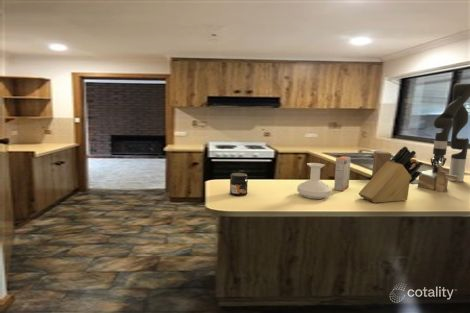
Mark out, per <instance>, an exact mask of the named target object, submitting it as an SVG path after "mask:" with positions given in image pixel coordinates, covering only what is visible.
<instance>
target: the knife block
mask: <svg viewBox="0 0 470 313" xmlns="http://www.w3.org/2000/svg"><path fill="white" fill-rule="evenodd" d="M416 154H417V152H416V151H415V150H412V151H410V150H409V148H408V146H406V145H405V146H402V148H401V149H399V150H398V151H397V153H396V154H395V155H393V157H392V158H391V160H390V162H389V161H387V162H386V163H385V164H384V165H383V167H382V168H381V169H380V170H379V171H378V172H377V173H376V174H375V175H374V177H373V176H372V178H371V179H370V180H369V181H368V182H367V183H366V184H365V185H364V186H363V187H362V189H361V190H360V191H359V192H358V195H359V197H360V198H363V199H366V200H367V201H370V202H372V203H374V204H377V203H389V202H398V201H400V202H401V201H407V200H408V195H409V190H410V189H409V188H410V185H411V183H412V182H413V181H414V180H415V179H418V178H419V175H422V174H421V173H422V172H421V171H419V169H420V168H421V166H423V165H424V163H423V162H421V161H420V162H418V163H417V161H412V159H413V158H414V156H415V155H416ZM414 164H415V165H414ZM413 165H414V166H413Z"/></svg>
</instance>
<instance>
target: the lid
mask: <svg viewBox="0 0 470 313" xmlns="http://www.w3.org/2000/svg"><path fill="white" fill-rule="evenodd" d="M443 168H444V166H442V167H441V166H438V170H437V172H443ZM433 170H434V167H433V166H432V169H427V170H424V171H420V172H422V173H421V175H423V176H427V177H431V178H437V173H435V172H433Z"/></svg>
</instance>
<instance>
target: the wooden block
mask: <svg viewBox="0 0 470 313" xmlns="http://www.w3.org/2000/svg"><path fill="white" fill-rule="evenodd" d="M391 157H392V153H390V152H389V151H376V150H375V151H374V152H373V161H372V170H371V171H372V172H371V177H372V178H373V177H374V175H375V174H376V173H377V172H378V171H379V170H380V169H381V168H382V167H383V165H384V164H385V163H386V162H387V161H389V162H390V161H391V160H392V158H391Z"/></svg>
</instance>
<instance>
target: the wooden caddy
mask: <svg viewBox="0 0 470 313" xmlns="http://www.w3.org/2000/svg"><path fill="white" fill-rule="evenodd" d="M445 174H449V172H446V171H442V173H441V172H437V178H431V177H427V176H423V175H422V174H421V175H419V176H418V180H419V181H418V184H417V187H419V188H423V189H427V190H431V191H437V192H441V193H443V192H448V185H449V180H448V178H444V177H445Z"/></svg>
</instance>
